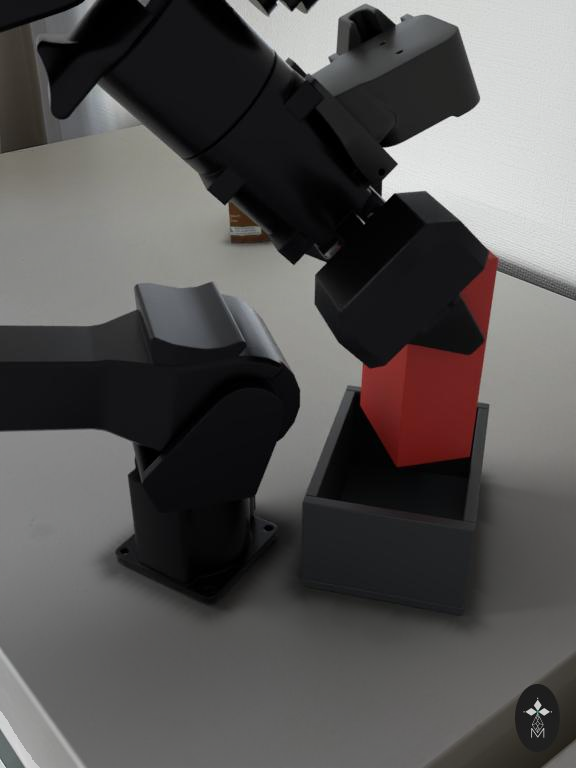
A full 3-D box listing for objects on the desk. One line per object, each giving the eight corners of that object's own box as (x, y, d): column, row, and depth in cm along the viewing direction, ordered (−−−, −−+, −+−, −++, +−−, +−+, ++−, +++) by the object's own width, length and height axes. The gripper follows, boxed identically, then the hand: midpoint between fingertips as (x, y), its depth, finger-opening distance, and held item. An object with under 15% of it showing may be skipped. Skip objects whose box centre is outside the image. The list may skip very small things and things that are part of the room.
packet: (396, 468, 44) (415, 265, 38) (359, 405, 49) (371, 218, 43) (470, 457, 45) (499, 257, 39) (426, 396, 50) (446, 212, 44)
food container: (290, 253, 82) (290, 147, 77) (226, 248, 83) (222, 143, 78) (313, 208, 92) (314, 112, 87) (256, 204, 93) (254, 109, 88)
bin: (462, 616, 43) (474, 530, 40) (301, 586, 45) (301, 502, 42) (478, 480, 52) (489, 403, 49) (344, 460, 54) (347, 384, 51)
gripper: (465, -28, 26) (696, 277, 34) (303, -72, 41) (488, 144, 49) (214, 243, 28) (485, 467, 36) (150, 106, 44) (350, 284, 52)
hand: (450, 317), depth 43 cm, fingers closed on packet, 6 cm apart
